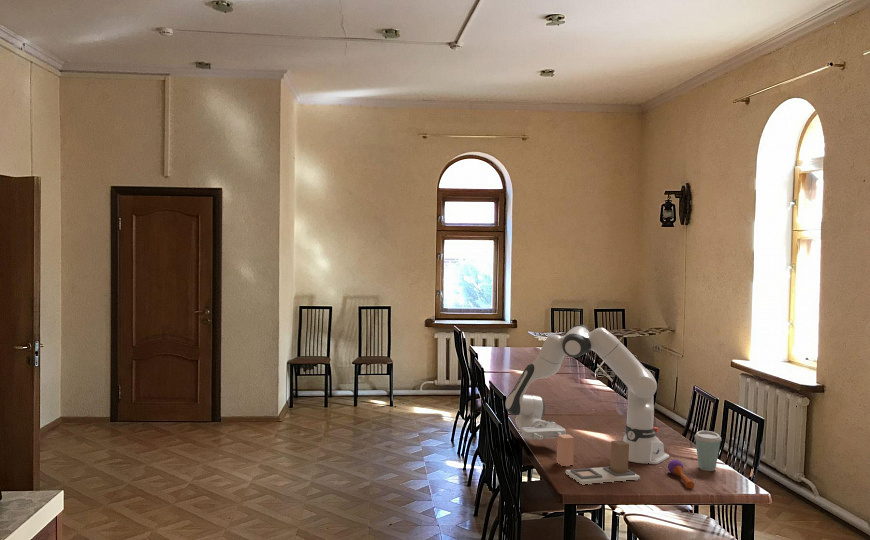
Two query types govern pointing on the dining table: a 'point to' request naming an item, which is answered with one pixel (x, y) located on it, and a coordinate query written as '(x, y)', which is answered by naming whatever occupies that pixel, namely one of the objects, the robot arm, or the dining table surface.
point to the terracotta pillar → (565, 450)
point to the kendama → (679, 472)
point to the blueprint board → (607, 468)
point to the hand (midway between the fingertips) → (551, 437)
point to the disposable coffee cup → (707, 449)
